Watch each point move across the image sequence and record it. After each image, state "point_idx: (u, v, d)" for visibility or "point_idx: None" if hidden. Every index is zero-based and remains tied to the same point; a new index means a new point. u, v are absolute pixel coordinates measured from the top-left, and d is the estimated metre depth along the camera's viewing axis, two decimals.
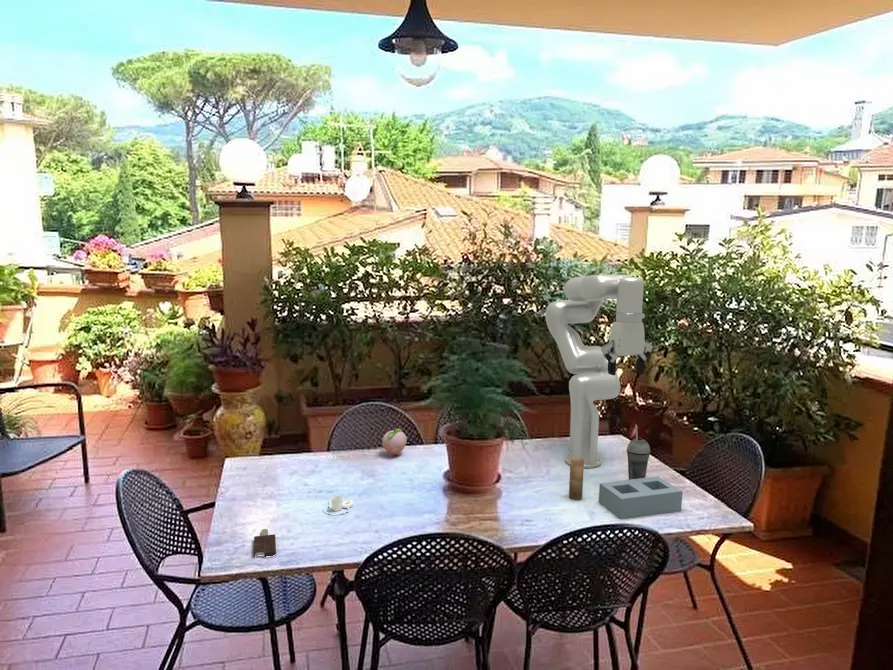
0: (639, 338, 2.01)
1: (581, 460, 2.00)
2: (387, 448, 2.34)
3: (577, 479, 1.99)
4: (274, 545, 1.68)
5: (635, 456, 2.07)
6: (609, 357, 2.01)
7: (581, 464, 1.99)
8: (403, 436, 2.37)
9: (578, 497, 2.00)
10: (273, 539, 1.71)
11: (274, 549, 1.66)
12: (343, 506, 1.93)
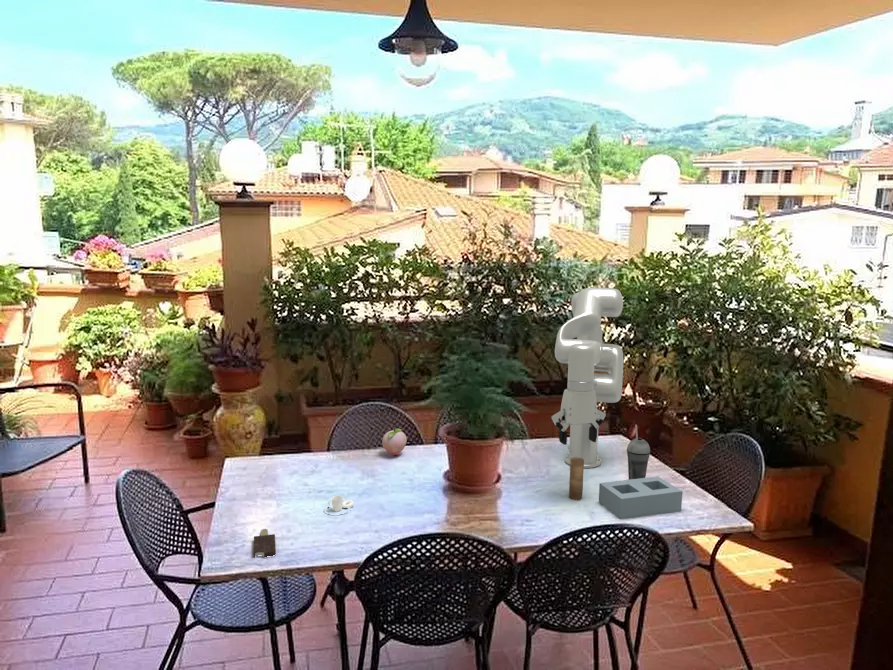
0: (591, 406, 1.96)
1: (581, 460, 2.00)
2: (387, 448, 2.34)
3: (577, 479, 1.99)
4: (274, 545, 1.68)
5: (635, 456, 2.07)
6: (560, 426, 1.96)
7: (581, 464, 1.99)
8: (403, 436, 2.37)
9: (578, 497, 2.00)
10: (273, 539, 1.71)
11: (274, 549, 1.66)
12: (343, 506, 1.93)
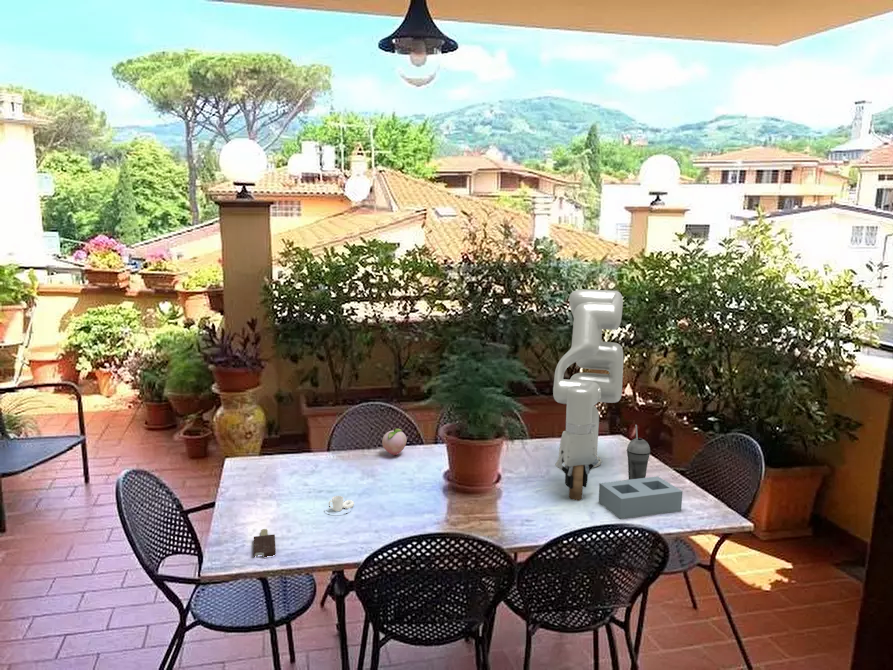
0: (589, 448, 1.98)
1: None
2: (387, 448, 2.34)
3: (577, 479, 1.99)
4: (274, 545, 1.68)
5: (635, 456, 2.07)
6: (566, 471, 1.99)
7: None
8: (403, 436, 2.37)
9: (578, 497, 2.00)
10: (273, 539, 1.71)
11: (274, 549, 1.66)
12: (344, 506, 1.93)
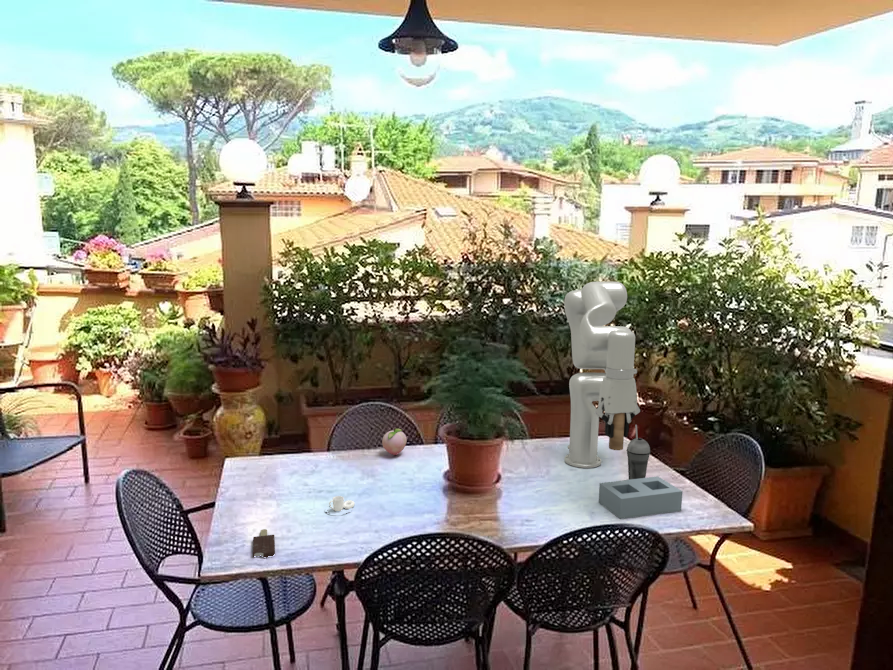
0: (631, 395, 1.89)
1: None
2: (387, 448, 2.34)
3: (618, 428, 1.90)
4: (273, 545, 1.68)
5: (635, 456, 2.07)
6: (606, 419, 1.90)
7: None
8: (403, 436, 2.37)
9: (619, 447, 1.91)
10: (272, 539, 1.71)
11: (273, 549, 1.66)
12: (344, 506, 1.93)
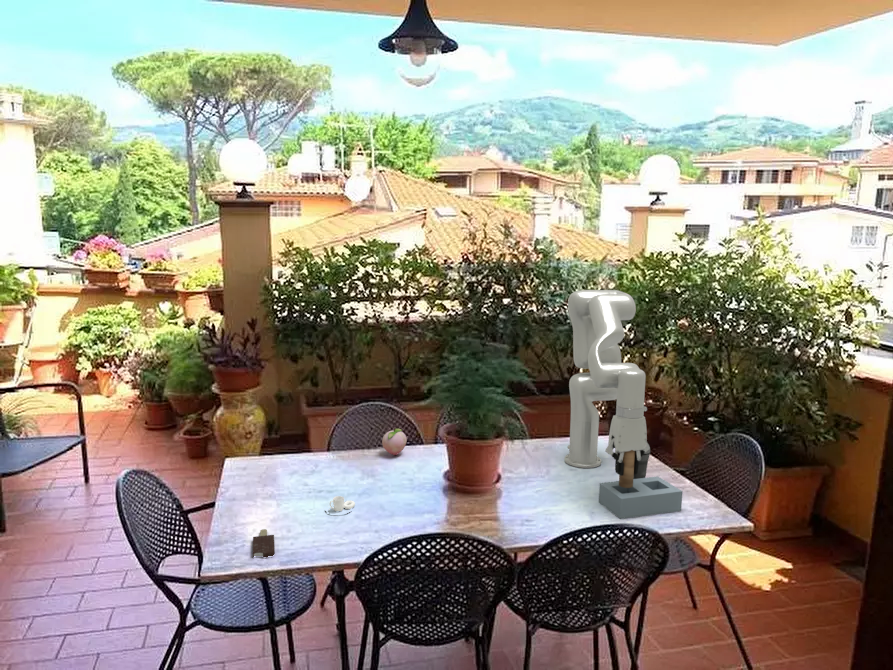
0: (641, 433, 1.90)
1: None
2: (387, 448, 2.34)
3: (628, 466, 1.91)
4: (273, 545, 1.68)
5: None
6: (617, 457, 1.90)
7: (632, 450, 1.90)
8: (403, 436, 2.37)
9: (629, 485, 1.92)
10: (272, 539, 1.71)
11: (273, 549, 1.66)
12: (345, 507, 1.92)
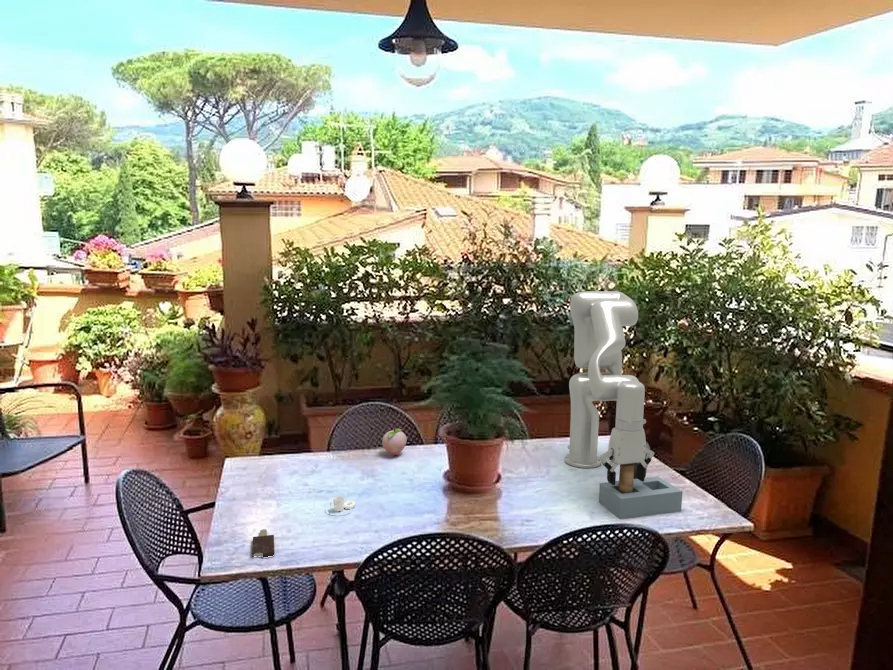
0: (640, 446, 1.90)
1: (631, 465, 1.91)
2: (387, 448, 2.34)
3: (627, 485, 1.91)
4: (273, 545, 1.68)
5: None
6: (609, 466, 1.90)
7: (632, 469, 1.91)
8: (403, 436, 2.37)
9: None
10: (272, 539, 1.71)
11: (273, 549, 1.66)
12: (345, 507, 1.92)
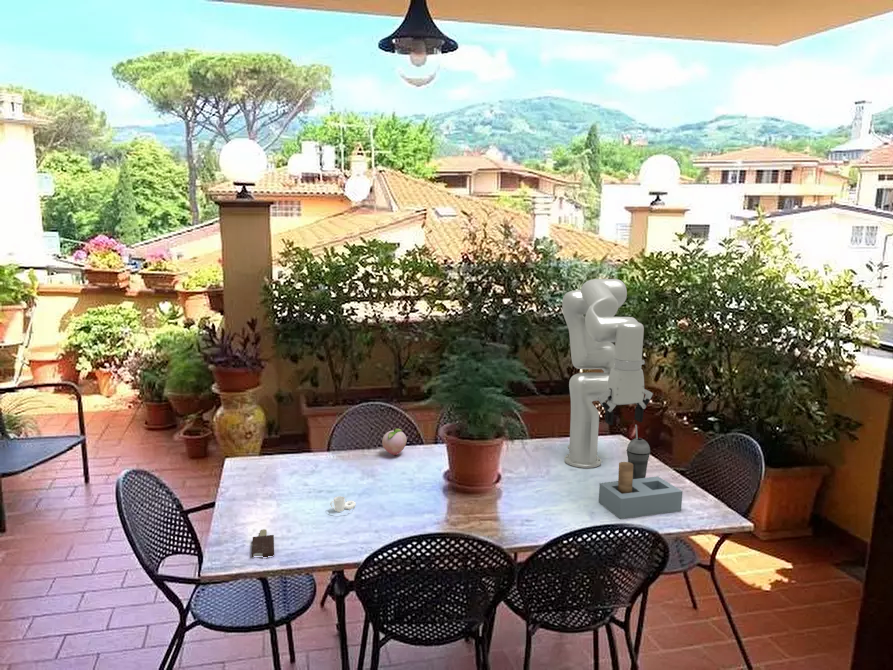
0: (638, 386, 1.90)
1: (630, 465, 1.92)
2: (387, 448, 2.34)
3: (627, 485, 1.92)
4: (272, 546, 1.68)
5: (635, 456, 2.07)
6: (606, 406, 1.90)
7: (631, 469, 1.91)
8: (403, 436, 2.37)
9: None
10: (271, 540, 1.71)
11: (272, 550, 1.66)
12: (345, 507, 1.92)
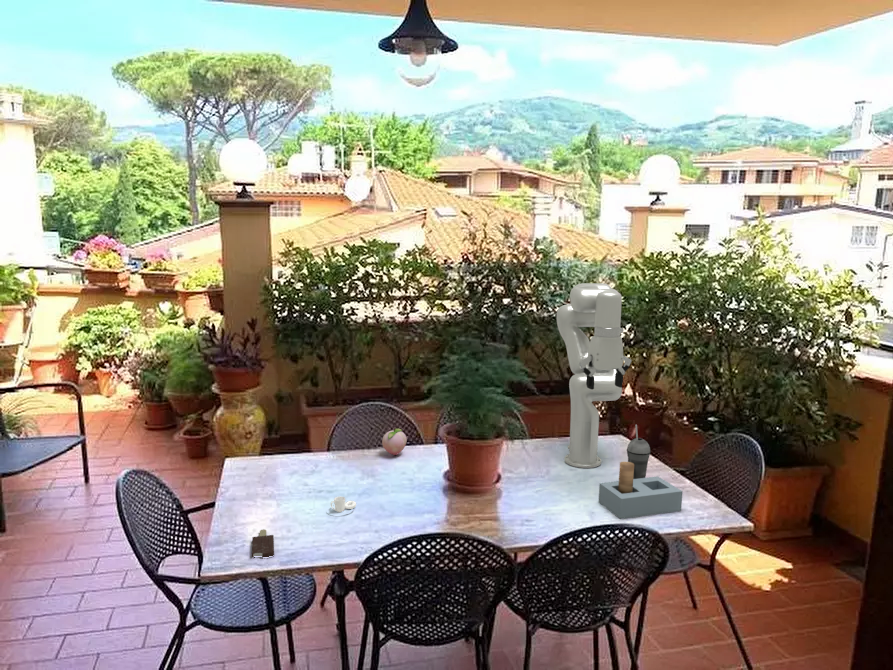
0: (617, 352, 2.02)
1: (631, 464, 1.92)
2: (387, 448, 2.34)
3: (627, 484, 1.92)
4: (272, 546, 1.68)
5: (635, 456, 2.07)
6: (587, 371, 2.01)
7: (632, 468, 1.91)
8: (403, 436, 2.37)
9: None
10: (271, 539, 1.71)
11: (272, 550, 1.66)
12: (346, 507, 1.92)
